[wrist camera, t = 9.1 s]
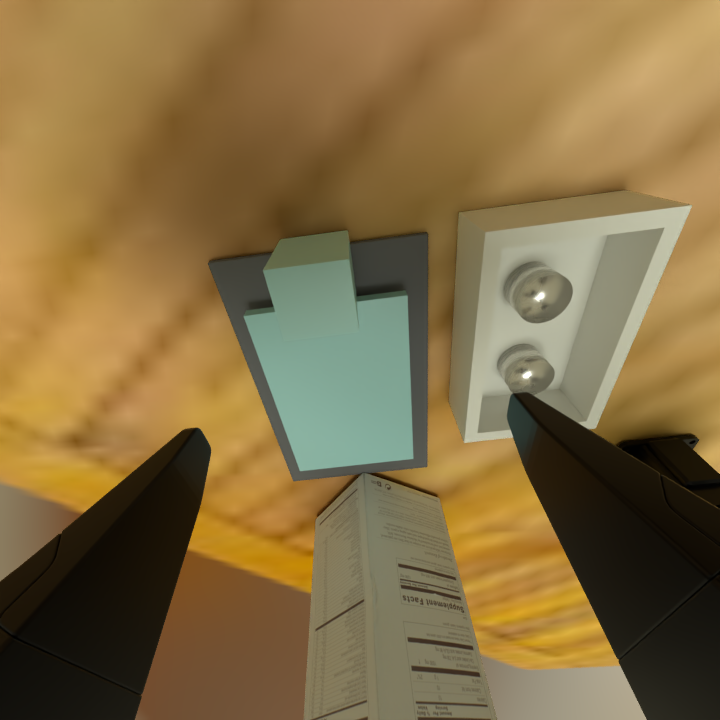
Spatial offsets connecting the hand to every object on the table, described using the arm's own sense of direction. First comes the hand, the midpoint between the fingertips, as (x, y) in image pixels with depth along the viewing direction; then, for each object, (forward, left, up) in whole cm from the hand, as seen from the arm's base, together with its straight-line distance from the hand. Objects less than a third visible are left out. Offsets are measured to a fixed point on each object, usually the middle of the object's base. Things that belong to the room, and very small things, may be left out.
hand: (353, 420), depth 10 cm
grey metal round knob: (-2, -10, -11) cm, 15 cm away
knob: (-7, -10, -11) cm, 17 cm away
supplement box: (-24, +1, -12) cm, 27 cm away
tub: (-4, -10, -12) cm, 16 cm away
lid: (-6, +2, -11) cm, 13 cm away
